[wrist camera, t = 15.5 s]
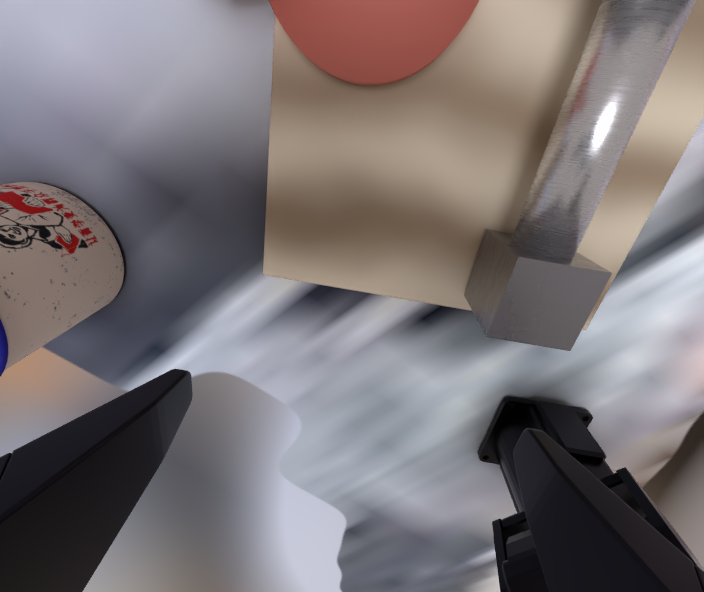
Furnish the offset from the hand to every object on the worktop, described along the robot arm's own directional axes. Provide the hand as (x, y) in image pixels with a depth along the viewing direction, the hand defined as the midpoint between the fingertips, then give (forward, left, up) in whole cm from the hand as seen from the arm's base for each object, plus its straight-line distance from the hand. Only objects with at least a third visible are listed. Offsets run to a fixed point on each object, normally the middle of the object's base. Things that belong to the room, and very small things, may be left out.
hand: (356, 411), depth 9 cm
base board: (+8, -4, -13) cm, 16 cm away
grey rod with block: (+7, -8, -12) cm, 15 cm away
